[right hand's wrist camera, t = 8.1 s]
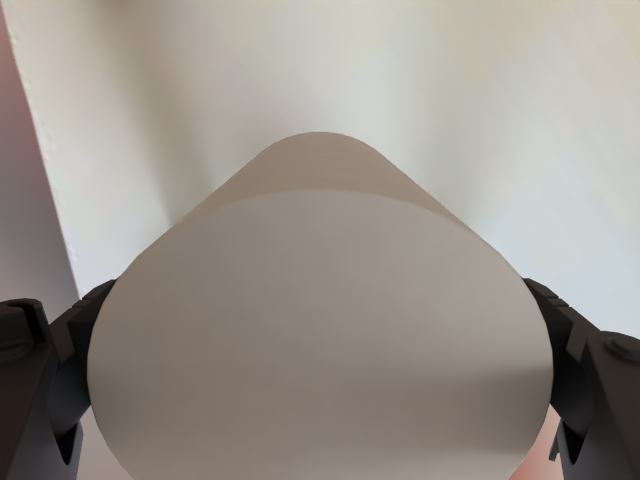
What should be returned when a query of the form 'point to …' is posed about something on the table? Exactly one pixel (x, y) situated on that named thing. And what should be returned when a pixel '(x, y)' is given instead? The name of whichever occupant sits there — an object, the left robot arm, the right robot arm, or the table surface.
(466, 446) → the can
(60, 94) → the table surface
